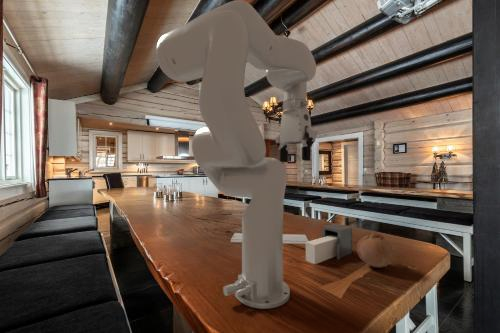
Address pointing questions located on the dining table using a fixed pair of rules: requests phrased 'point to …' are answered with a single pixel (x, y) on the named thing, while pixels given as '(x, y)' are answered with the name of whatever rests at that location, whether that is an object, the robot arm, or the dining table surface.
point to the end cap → (340, 238)
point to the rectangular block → (321, 249)
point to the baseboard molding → (286, 238)
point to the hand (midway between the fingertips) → (294, 161)
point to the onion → (375, 250)
